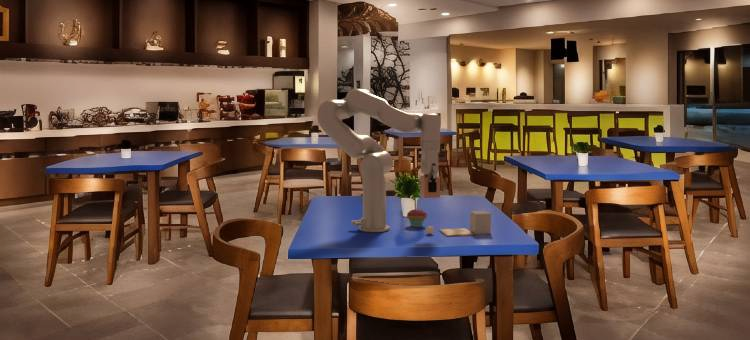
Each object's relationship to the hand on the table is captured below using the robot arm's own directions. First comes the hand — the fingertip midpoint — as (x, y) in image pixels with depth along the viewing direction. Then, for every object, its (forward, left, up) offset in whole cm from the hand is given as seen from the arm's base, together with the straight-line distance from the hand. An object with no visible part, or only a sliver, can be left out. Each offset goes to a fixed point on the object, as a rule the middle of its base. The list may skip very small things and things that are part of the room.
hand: (429, 190), depth 242 cm
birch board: (+11, 0, -18) cm, 21 cm away
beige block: (+21, 0, -18) cm, 27 cm away
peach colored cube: (0, 0, -2) cm, 2 cm away
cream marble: (0, 0, -18) cm, 18 cm away
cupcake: (-1, +17, -18) cm, 25 cm away
